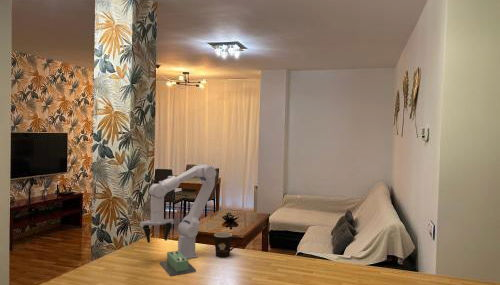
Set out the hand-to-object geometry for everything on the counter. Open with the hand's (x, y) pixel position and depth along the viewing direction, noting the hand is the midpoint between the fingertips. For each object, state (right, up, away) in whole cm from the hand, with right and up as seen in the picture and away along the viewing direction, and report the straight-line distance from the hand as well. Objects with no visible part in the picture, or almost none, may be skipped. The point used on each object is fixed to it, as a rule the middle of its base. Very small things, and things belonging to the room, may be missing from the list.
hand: (157, 241), depth 176 cm
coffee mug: (+30, -10, +10) cm, 33 cm away
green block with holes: (+10, -9, -7) cm, 15 cm away
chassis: (+10, -10, -6) cm, 16 cm away
